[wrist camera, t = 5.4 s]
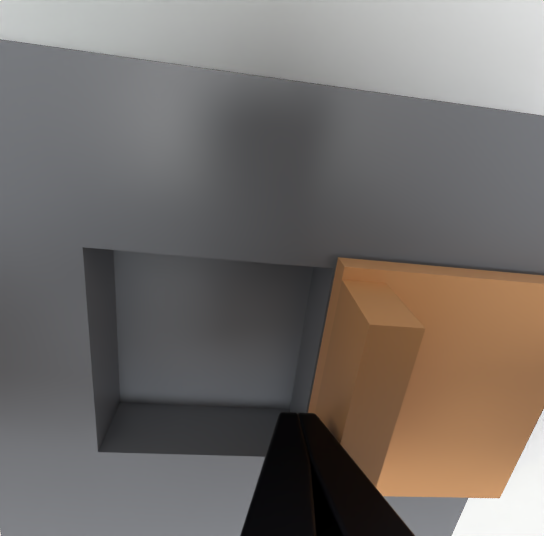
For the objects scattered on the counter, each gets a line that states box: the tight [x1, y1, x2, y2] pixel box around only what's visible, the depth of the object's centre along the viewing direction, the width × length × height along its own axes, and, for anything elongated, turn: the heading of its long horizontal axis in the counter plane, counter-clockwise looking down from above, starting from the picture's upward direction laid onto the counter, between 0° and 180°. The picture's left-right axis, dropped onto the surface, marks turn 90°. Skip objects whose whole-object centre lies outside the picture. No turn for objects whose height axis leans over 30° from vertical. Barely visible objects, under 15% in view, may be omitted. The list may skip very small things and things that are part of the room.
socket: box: [0, 39, 544, 536], centre depth 11 cm, size 15×14×2 cm
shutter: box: [308, 257, 544, 498], centre depth 9 cm, size 6×7×2 cm
